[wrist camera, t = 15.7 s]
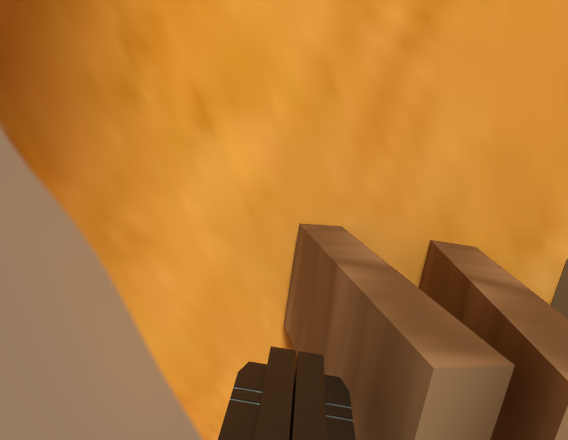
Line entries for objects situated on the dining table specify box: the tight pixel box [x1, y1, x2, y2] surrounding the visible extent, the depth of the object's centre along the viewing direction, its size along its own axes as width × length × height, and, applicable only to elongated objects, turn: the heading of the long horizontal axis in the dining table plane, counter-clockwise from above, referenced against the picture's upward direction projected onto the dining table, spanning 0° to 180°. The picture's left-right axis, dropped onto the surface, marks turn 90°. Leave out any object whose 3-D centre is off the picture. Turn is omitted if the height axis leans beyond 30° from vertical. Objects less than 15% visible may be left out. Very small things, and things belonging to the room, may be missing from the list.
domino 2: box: [419, 240, 568, 440], centre depth 13 cm, size 2×5×10 cm, turn 172°
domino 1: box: [284, 224, 515, 440], centre depth 13 cm, size 2×5×10 cm, turn 173°
